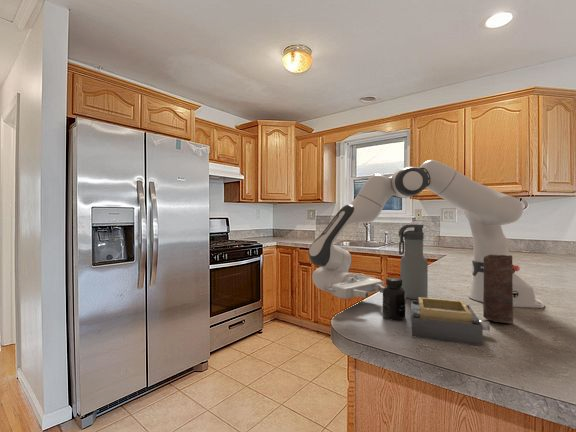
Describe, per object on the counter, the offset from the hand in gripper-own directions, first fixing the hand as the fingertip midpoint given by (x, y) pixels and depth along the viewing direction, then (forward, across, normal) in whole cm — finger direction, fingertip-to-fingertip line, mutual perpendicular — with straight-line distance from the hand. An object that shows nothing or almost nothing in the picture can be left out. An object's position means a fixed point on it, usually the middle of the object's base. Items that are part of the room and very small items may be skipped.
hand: (376, 292), depth 102 cm
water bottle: (-4, +26, +7) cm, 27 cm away
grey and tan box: (+22, +3, +6) cm, 23 cm away
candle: (+27, +22, +7) cm, 35 cm away
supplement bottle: (+7, 0, +6) cm, 10 cm away
